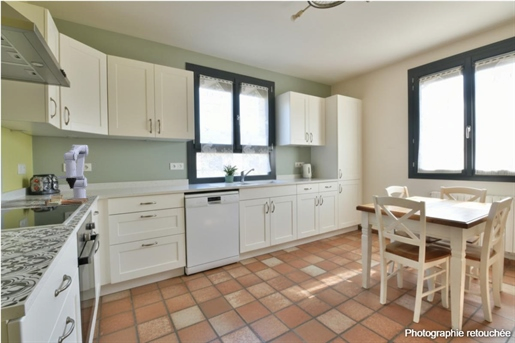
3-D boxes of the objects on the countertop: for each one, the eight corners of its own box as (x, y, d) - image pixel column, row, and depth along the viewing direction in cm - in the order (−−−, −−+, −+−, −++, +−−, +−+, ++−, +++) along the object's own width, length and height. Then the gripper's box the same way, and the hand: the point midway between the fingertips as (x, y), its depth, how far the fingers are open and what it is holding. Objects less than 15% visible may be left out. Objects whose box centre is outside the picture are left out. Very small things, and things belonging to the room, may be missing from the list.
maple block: (54, 200, 164) (54, 195, 164) (63, 200, 166) (63, 194, 165) (51, 201, 159) (51, 196, 159) (60, 201, 161) (60, 195, 161)
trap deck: (55, 202, 168) (55, 197, 168) (88, 200, 176) (88, 195, 176) (45, 206, 154) (44, 201, 154) (81, 204, 161) (81, 199, 161)
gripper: (55, 169, 158) (56, 189, 159) (81, 169, 164) (82, 188, 164) (60, 169, 165) (60, 188, 166) (84, 169, 170) (85, 187, 171)
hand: (71, 188), depth 165 cm, fingers closed
